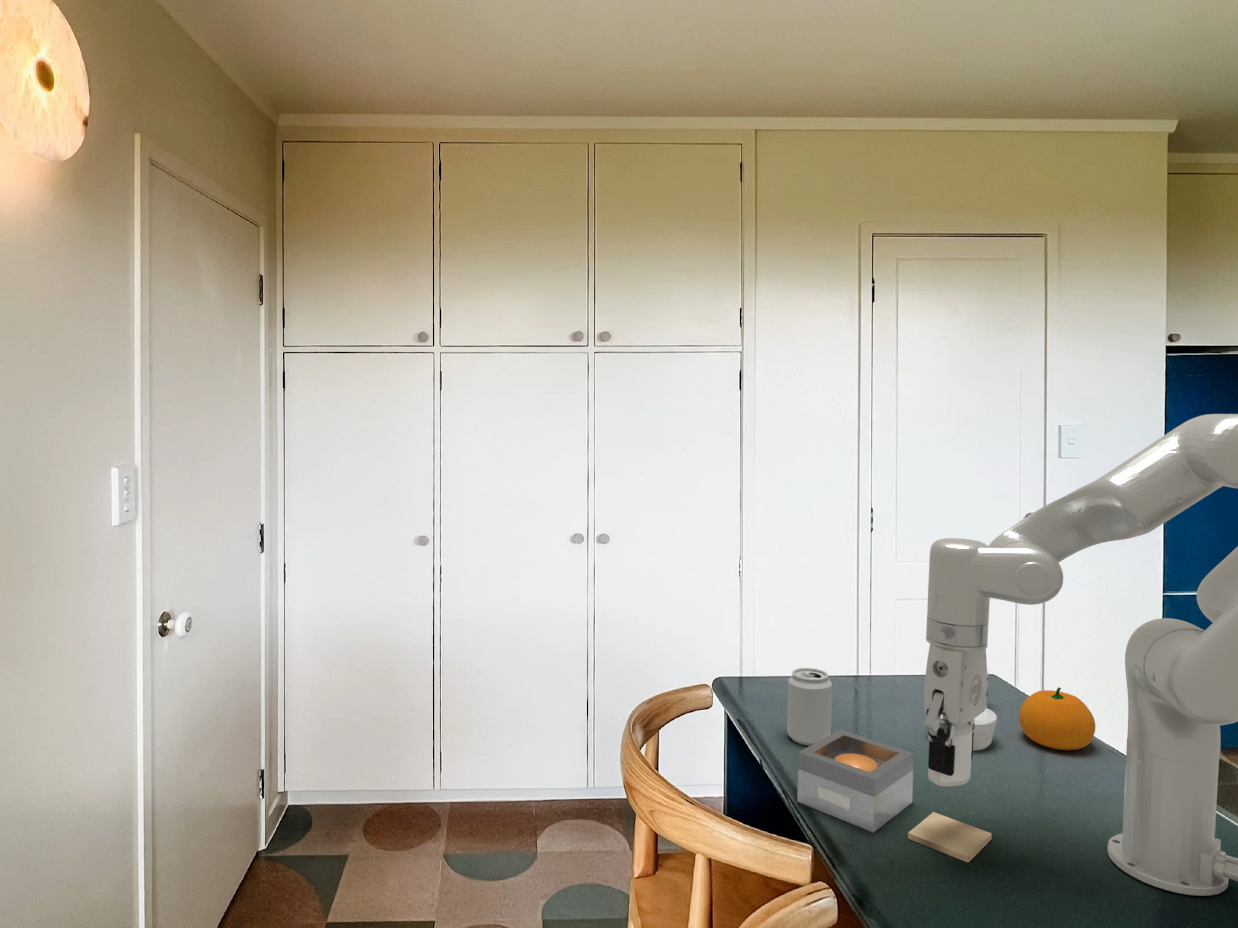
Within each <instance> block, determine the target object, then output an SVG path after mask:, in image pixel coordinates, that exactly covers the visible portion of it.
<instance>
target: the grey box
mask: <svg viewBox="0 0 1238 928" xmlns="http://www.w3.org/2000/svg"><path fill="white" fill-rule="evenodd" d="M848 753H851V754H860V755H864V756H867V757H869V758H871V759H873V760H874V761H875V762H876V763H877V768H876V769H874V770H873V771H871V772H867V771H864V770H861V769H859V768H856V767H853V766H850V765H847V764H844V763H842V762H839V761H836V760H835V758H836V757H837V756H838V755H841V754H848ZM797 754H798V755H797V757H798V758H797V759H798V761H797V762H798V763H797V764H798V766H797V803H800V804H802V805H805V806H807V807H809V808H812V809H815V810H817V811H818V812H822V813H824V814H827V815H829V816H831V817H834V818H836V819H839V820H841V821H844V822H845V823H848V824H851V825H853V826H856V827H858V828H860V829H863V830H866V831H868V832H870V833H875V832H876V831H877V830H879V829H880V828H882V827H883V826H884V825H885V824H886V823H888V822H889V821H890V820H892V819H893V818H895V817H896V816H897V815H899V814H900V813H901V812H902V811H904V809H906V808H907V807H908V806H909V805H911V804H913V793H914V792H913V790H914V789H913V788H914V760H915V759H914V758H915V754H914V752H913V751H908V750H906V749H903V748H900V747H895V746H893V745H889V744H886V743H883V742H880V741H877V740H874V739H871V738H867V737H865V736H861V735H858V734H856V733H853V732H849V731H846V730H844V729H839V730H836V731H835V732H833V733H831V735H829V736H827V737H826V738H824V739H822V740H820V741H818V742H816V743H815V744H813V745H811V746H807V747H806V748H803V749H802V750H800V751H798V753H797Z"/></svg>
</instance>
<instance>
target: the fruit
mask: <svg viewBox="0 0 1238 928" xmlns="http://www.w3.org/2000/svg"><path fill="white" fill-rule="evenodd" d="M1061 689H1062V688H1061V687H1060V686H1058V687H1057V689H1056V690H1053V689H1049V690H1048V689H1047V690H1046V689H1045V690H1038V691H1036V692H1034V693H1032V694H1031V695H1029V696H1028V697H1026V699H1025V700H1024V701H1023V702H1022V704H1021V706H1020V708H1019V711H1018V721H1019V725H1020V727H1021V729H1022V731H1023V733H1024V734H1025V736H1027V737H1028V738H1029V739H1030V740H1032V742H1035V743H1036V744H1039V745H1041V746H1043V747H1047V748H1049V749H1053V750H1060V751H1074V750H1075V751H1076V750H1081V749H1083V748H1085V747H1086V746H1088V745H1090V744H1091V742H1092V741H1093V738H1094V736H1095V733H1096V721H1095V717H1094V716H1093V714H1092V711H1091V710H1090V709H1089V708H1088V706H1087V705H1086V704H1085V702H1084V701H1082V700H1081V699H1080V698H1079V697H1077V696H1075V695H1073V694H1071V693H1068V692H1063V691H1061Z"/></svg>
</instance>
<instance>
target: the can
mask: <svg viewBox="0 0 1238 928" xmlns="http://www.w3.org/2000/svg"><path fill="white" fill-rule="evenodd" d="M791 674H792V675H791V676H790V677H789V678H788V680H787V681H788V682H787V684H788V685H787V723H786V724H787V727H786V728H787V729H786V730H787V731H786V732H787V735H788V736H789V738H791V739H792V741H794V742H795V743H796V744H800V745H803V746H807V747H809V746H811V745H813V744H815V743H816V742H818V741H820V740H822V739H824V738H826V737H827V736H829V735H831V734H832V709H833V708H832V705H833V704H832V703H833V683H832V681H831V680H830V679H829V677H830V676H829V674H828V673H827V672H826V671H824V670H822V669H819V668H813V667H799V668H796V669H793V670H792V672H791Z"/></svg>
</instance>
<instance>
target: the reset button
mask: <svg viewBox="0 0 1238 928" xmlns="http://www.w3.org/2000/svg"><path fill="white" fill-rule="evenodd" d="M835 760H836V761H839V762H842V763H844V764H847V765H850V766H853V767H856V768H859V769H861V770H864V771H867V772H871V771H873V770H874V769H876V768H877V763H876V762H875V761H874V760H873V759H871V758H869V757H867V756H864V755H860V754H851V753H848V754H841V755H838V756H837V757H836V758H835Z"/></svg>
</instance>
